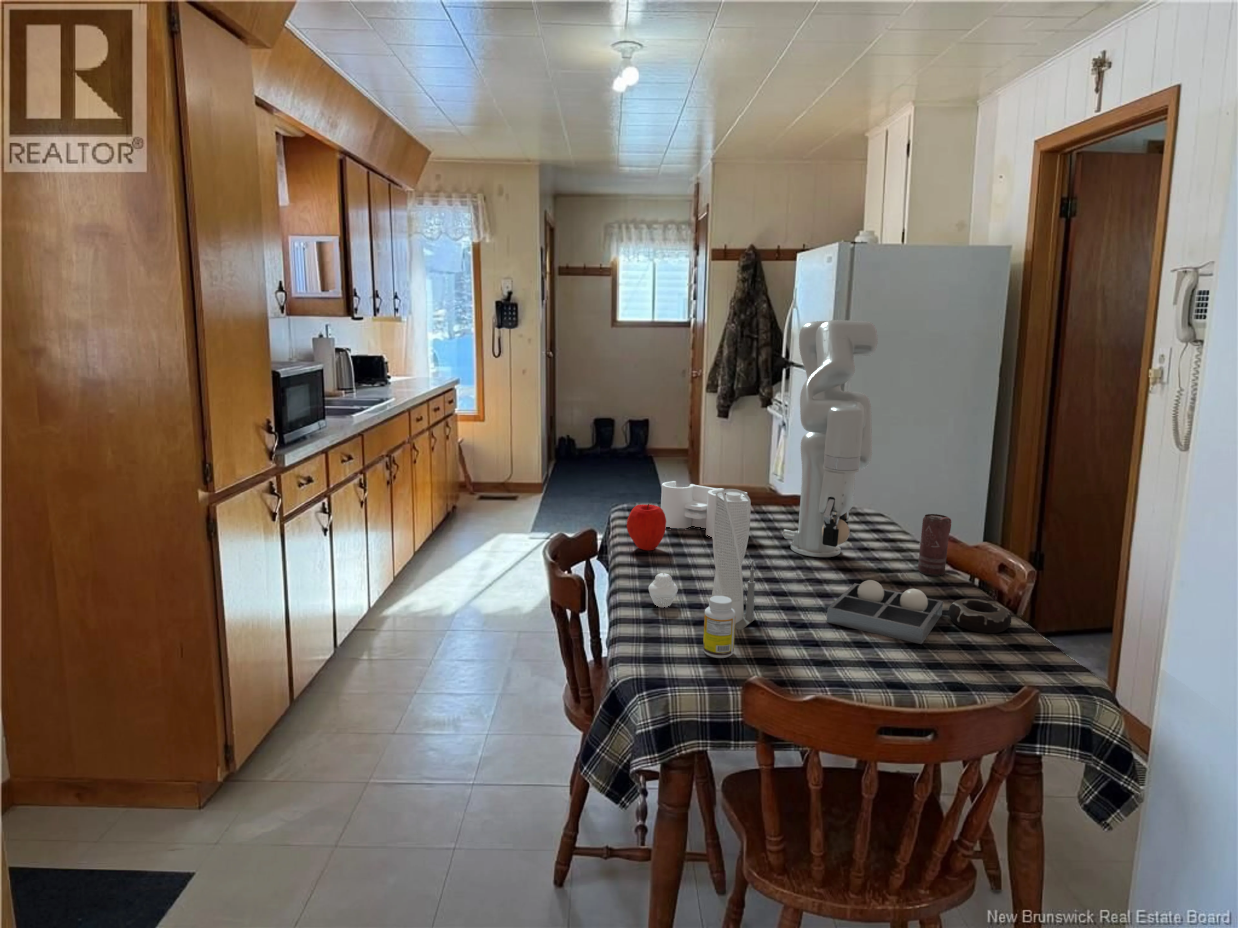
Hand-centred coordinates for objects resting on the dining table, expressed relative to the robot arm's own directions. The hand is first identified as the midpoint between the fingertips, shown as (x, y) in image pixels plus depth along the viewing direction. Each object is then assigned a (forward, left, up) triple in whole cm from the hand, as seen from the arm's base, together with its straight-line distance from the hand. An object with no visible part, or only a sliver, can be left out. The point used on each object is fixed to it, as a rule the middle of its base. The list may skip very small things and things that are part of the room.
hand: (834, 540), depth 180 cm
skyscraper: (-11, -32, -12) cm, 35 cm away
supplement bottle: (-6, -47, -11) cm, 48 cm away
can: (+16, +26, -11) cm, 33 cm away
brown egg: (0, 0, -1) cm, 1 cm away
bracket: (-45, +25, -11) cm, 53 cm away
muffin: (-26, -32, -11) cm, 42 cm away
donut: (+31, -3, -12) cm, 33 cm away
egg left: (+11, -7, -11) cm, 16 cm away
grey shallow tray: (+15, -11, -11) cm, 22 cm away
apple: (-49, 0, -11) cm, 50 cm away
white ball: (+19, -7, -11) cm, 23 cm away
